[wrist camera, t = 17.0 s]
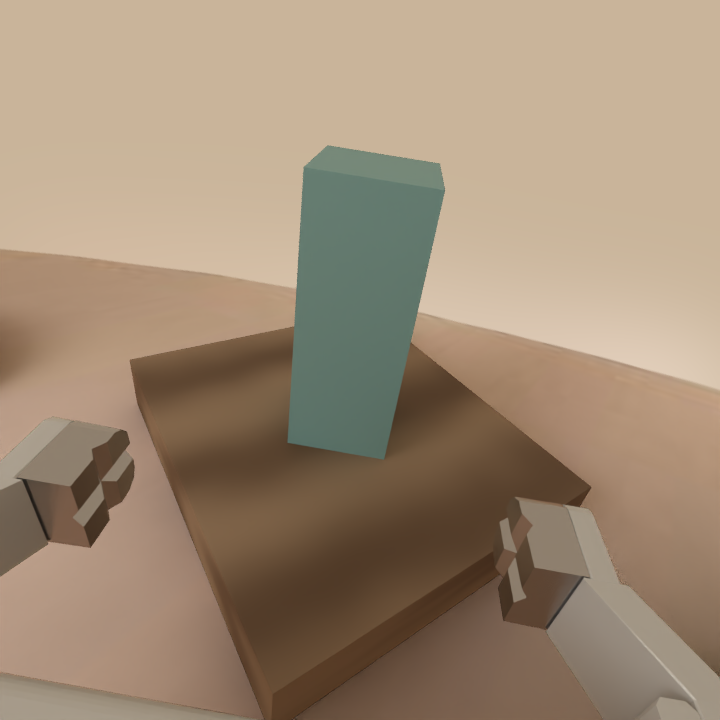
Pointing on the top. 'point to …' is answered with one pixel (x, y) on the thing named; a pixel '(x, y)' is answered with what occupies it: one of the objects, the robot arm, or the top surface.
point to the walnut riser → (333, 509)
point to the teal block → (358, 294)
